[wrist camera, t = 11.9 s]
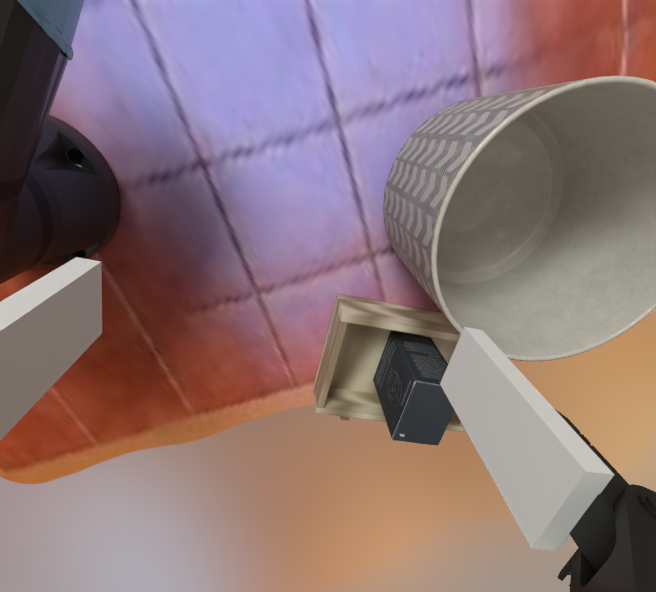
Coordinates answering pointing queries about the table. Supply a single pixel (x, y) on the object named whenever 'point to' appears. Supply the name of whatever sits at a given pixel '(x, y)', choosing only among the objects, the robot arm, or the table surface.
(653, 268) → the planter
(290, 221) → the table surface
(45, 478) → the table surface
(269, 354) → the table surface
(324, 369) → the crate
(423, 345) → the box
